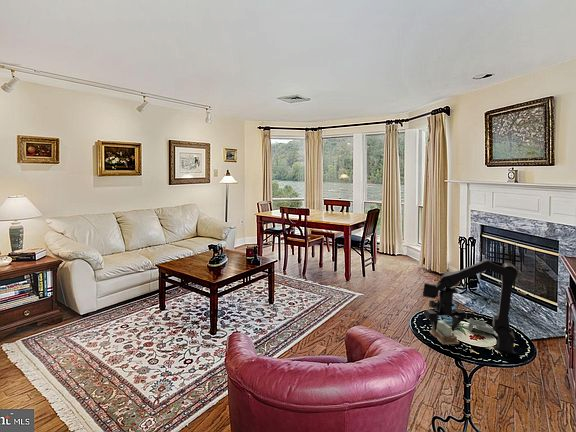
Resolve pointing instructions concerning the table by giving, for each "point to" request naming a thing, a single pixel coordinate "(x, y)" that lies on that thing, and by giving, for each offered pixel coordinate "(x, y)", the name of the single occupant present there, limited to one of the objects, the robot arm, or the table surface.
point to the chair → (448, 317)
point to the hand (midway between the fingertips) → (443, 331)
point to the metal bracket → (480, 326)
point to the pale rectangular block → (444, 328)
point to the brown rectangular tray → (443, 339)
